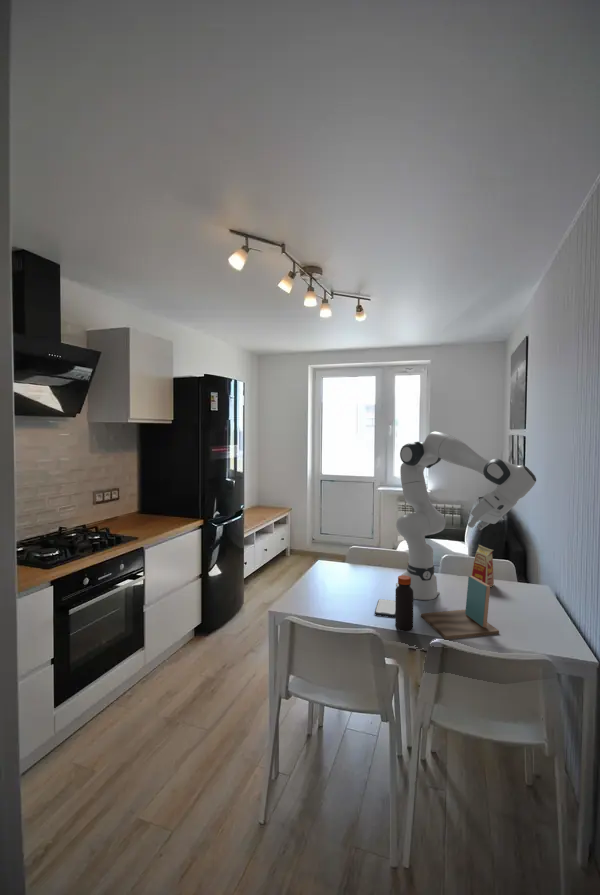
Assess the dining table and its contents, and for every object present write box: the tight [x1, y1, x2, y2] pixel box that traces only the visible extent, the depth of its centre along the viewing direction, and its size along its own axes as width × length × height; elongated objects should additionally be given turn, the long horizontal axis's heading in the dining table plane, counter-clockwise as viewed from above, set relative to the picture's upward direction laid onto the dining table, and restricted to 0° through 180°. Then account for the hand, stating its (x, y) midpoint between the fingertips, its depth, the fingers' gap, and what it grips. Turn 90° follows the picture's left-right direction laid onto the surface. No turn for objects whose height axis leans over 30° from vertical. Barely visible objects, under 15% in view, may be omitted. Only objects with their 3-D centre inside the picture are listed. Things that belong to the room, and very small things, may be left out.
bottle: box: [394, 574, 414, 632], centre depth 167 cm, size 7×7×20 cm
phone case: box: [374, 598, 395, 618], centre depth 185 cm, size 9×2×16 cm
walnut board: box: [420, 608, 500, 640], centre depth 170 cm, size 20×22×1 cm
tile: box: [465, 575, 491, 627], centre depth 170 cm, size 12×2×16 cm, turn 11°
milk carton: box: [470, 544, 495, 588], centre depth 212 cm, size 9×9×20 cm
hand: (474, 527), depth 168 cm, fingers open, 8 cm apart
